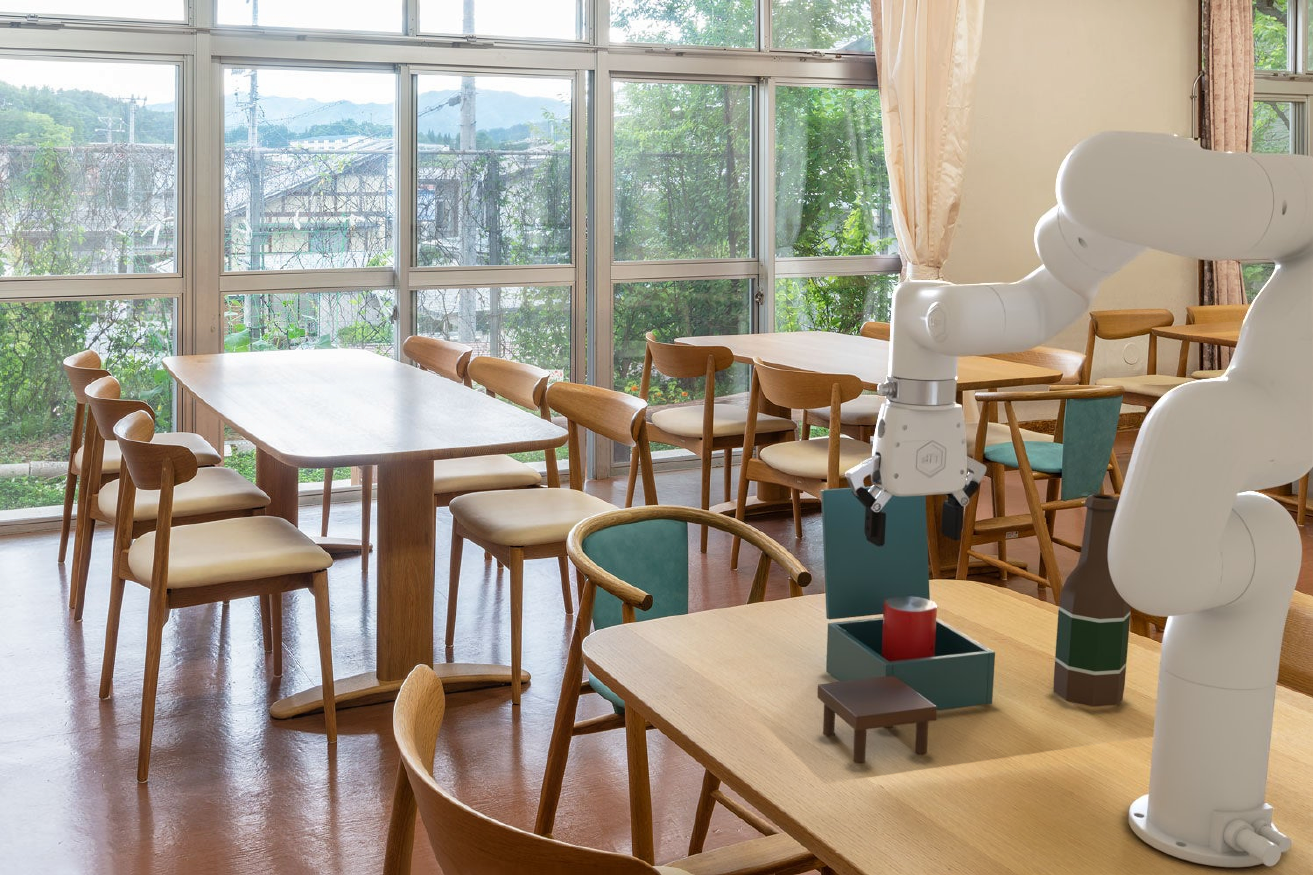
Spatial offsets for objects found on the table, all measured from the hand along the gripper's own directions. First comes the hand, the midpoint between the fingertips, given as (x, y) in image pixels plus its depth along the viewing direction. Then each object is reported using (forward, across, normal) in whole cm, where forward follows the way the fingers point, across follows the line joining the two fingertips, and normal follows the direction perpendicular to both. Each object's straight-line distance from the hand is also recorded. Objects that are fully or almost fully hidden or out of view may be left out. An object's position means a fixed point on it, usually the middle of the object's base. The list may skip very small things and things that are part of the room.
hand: (913, 540), depth 145 cm
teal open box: (+18, 0, -1) cm, 18 cm away
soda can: (+17, 0, -1) cm, 17 cm away
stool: (+18, -11, -14) cm, 25 cm away
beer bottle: (+18, +19, -9) cm, 28 cm away
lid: (+3, 0, +8) cm, 8 cm away
